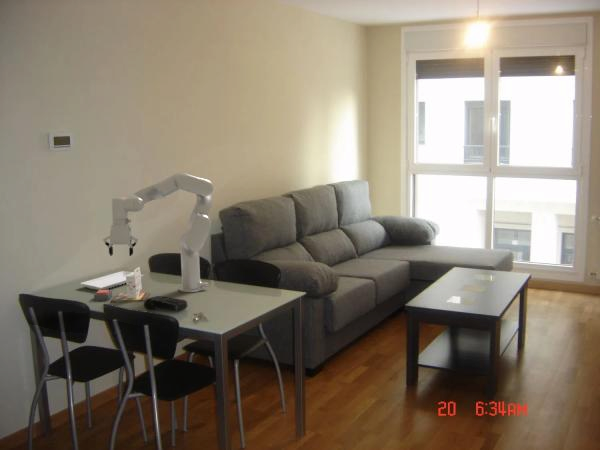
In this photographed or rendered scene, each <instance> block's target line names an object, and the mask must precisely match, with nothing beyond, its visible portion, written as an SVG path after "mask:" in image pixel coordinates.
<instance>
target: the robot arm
mask: <svg viewBox="0 0 600 450" xmlns="http://www.w3.org/2000/svg"><path fill="white" fill-rule="evenodd" d="M181 190H182V191H185V192H187V193H188V192H189V193H192V194H195V195H196V200H195V204H194V207H193V209H192V211H191V213H190V216H189V218H188V225H189V227H190V230H185V231H183V232H182V233H181V234H180V236H179V239H178V242H179V243H178V244H179V249H180V266H181V267H180V268H181V286H180V287H179V289H178V290H179V292H183V293H197V292H200V291H203V290H204V287H209V285H210V284H209V282H207V281H202V279H201V270H200V267H201V266H200V252H199V251H200V250H202V248H203V246H204V244H205V242H206V240H207V237H208V235H209V232H210V231H211V225H212V222H211V219H210V217H209V214H210V212H211V210H212V207H213V206H212V205H213V201H214V199H213V191H214V184H213V183H212V181H211V180H209V179H206V178H202V177H198V176H194V175H191V174H189V173H185V172H181V171H180V172H179V171H178V172H176V173H173V174H172V175H170V176H168V177H166V178H164V179H162V180H161V181H159V182H157V183H154V184H151V185H150V186H149V185H148V186H147V187H145V188H142V189H139V190H138V191H136V192H133V193H132V194H129V196H128V197H124V196H115V197H113V198H111V199H112V200H111V211H112V212H111V214H112V215H111V217H112V223H111V225H110V232H109V233H110V234H109V235H108V236H107V237H105V238H103V239H102V241H103V243H104V245H106V246H107V248H108V254H109V256H110V257H111V256H113V255H114V247H113V246H114V245H128V246H129V249H128V252H129V257H131V256H133V254H134V247H135V246H136V245H137V244H138V241H139V238H137V237H135V236H133V235H132V228H131V224H130V223H131V222H132V220H131V219H129V212H132V213H138V212H141V211H143V209H144V207H145V204H147V203H149V202H153V201H156V200H163V199H166V198H168V197H169V196H171V195H174V194H175V193H177V192H179V191H181ZM108 240H109V241H108ZM132 240H133V241H134V242H133V243H132Z"/></svg>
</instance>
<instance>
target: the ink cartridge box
mask: <svg viewBox="0 0 600 450" xmlns="http://www.w3.org/2000/svg"><path fill="white" fill-rule="evenodd" d="M141 273H142V272H141V267H140V266H138V267H136V268H135V269H134V270H133V271H131V273H130V274H129V275H127V276H126V284H125V285H126V293H127V297H128V298H135V299H136V298H138V297H139V296H140V295H141V294H142V293H143V287H142V277H141V275H142V274H141Z"/></svg>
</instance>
